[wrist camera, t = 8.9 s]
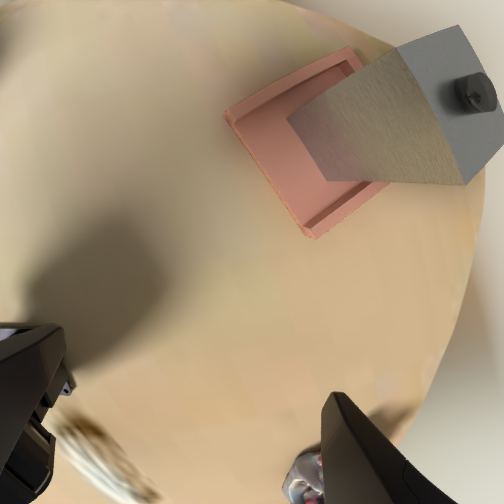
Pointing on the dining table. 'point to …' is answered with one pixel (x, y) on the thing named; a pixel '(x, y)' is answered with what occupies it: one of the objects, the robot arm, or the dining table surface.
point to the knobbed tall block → (407, 117)
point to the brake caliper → (305, 480)
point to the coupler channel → (299, 145)
